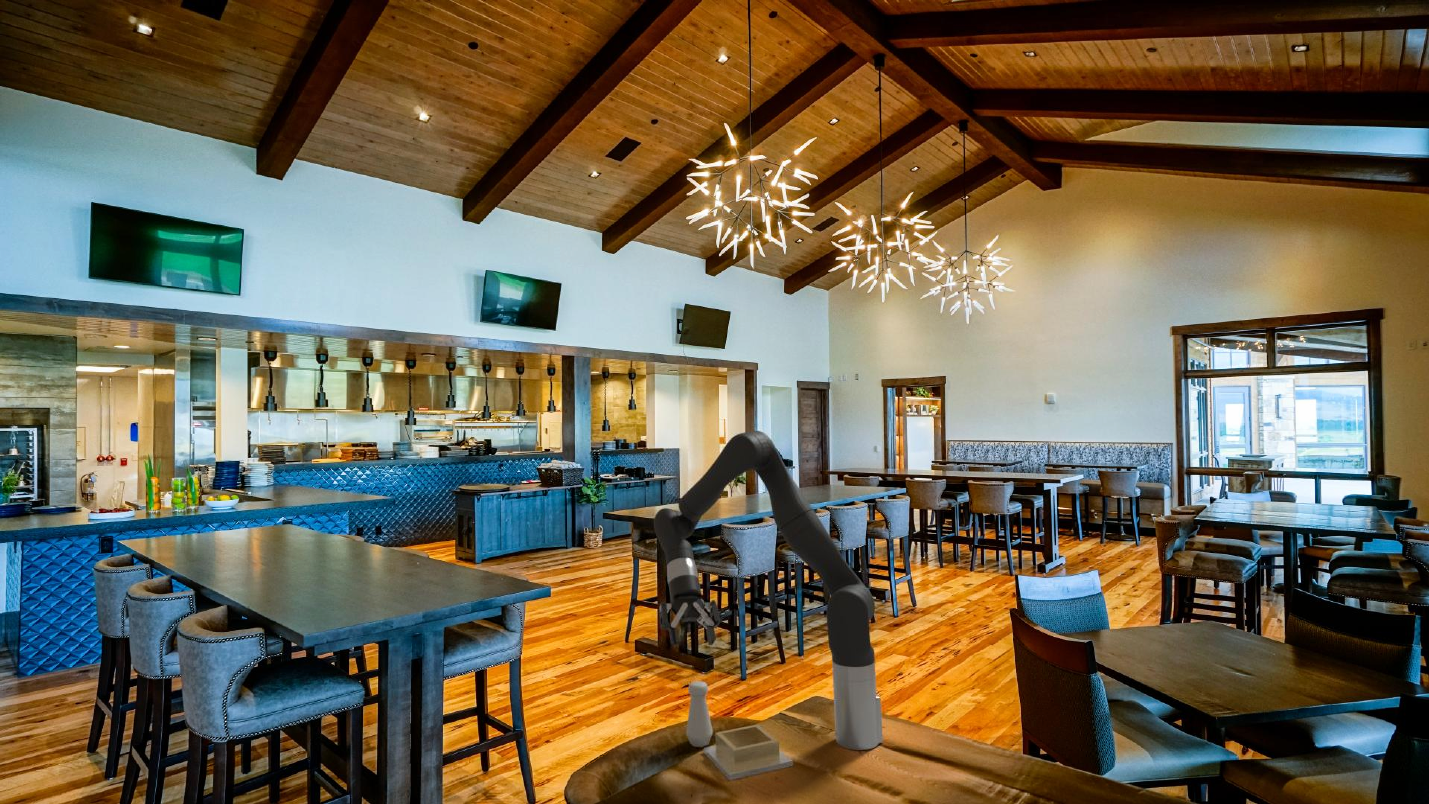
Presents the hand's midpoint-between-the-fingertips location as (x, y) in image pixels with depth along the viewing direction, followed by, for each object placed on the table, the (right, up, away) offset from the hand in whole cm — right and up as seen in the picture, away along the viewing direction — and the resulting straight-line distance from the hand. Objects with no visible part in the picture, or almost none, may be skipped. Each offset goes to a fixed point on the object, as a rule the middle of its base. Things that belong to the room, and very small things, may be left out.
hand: (694, 644), depth 160 cm
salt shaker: (+1, -20, -7) cm, 21 cm away
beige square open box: (+11, -18, -15) cm, 27 cm away
